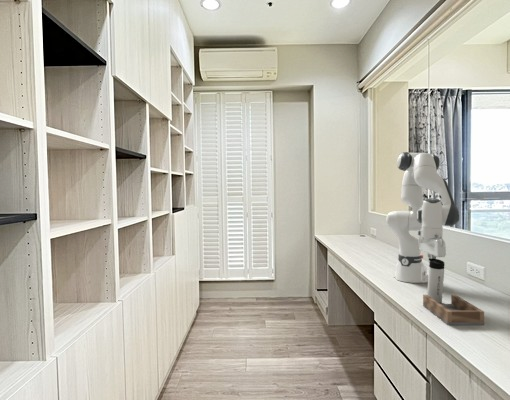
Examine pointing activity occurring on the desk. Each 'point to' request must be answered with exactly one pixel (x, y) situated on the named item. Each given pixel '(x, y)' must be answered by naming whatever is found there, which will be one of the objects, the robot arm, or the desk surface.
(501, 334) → the desk surface
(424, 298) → the u rest
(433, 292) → the travel mug
